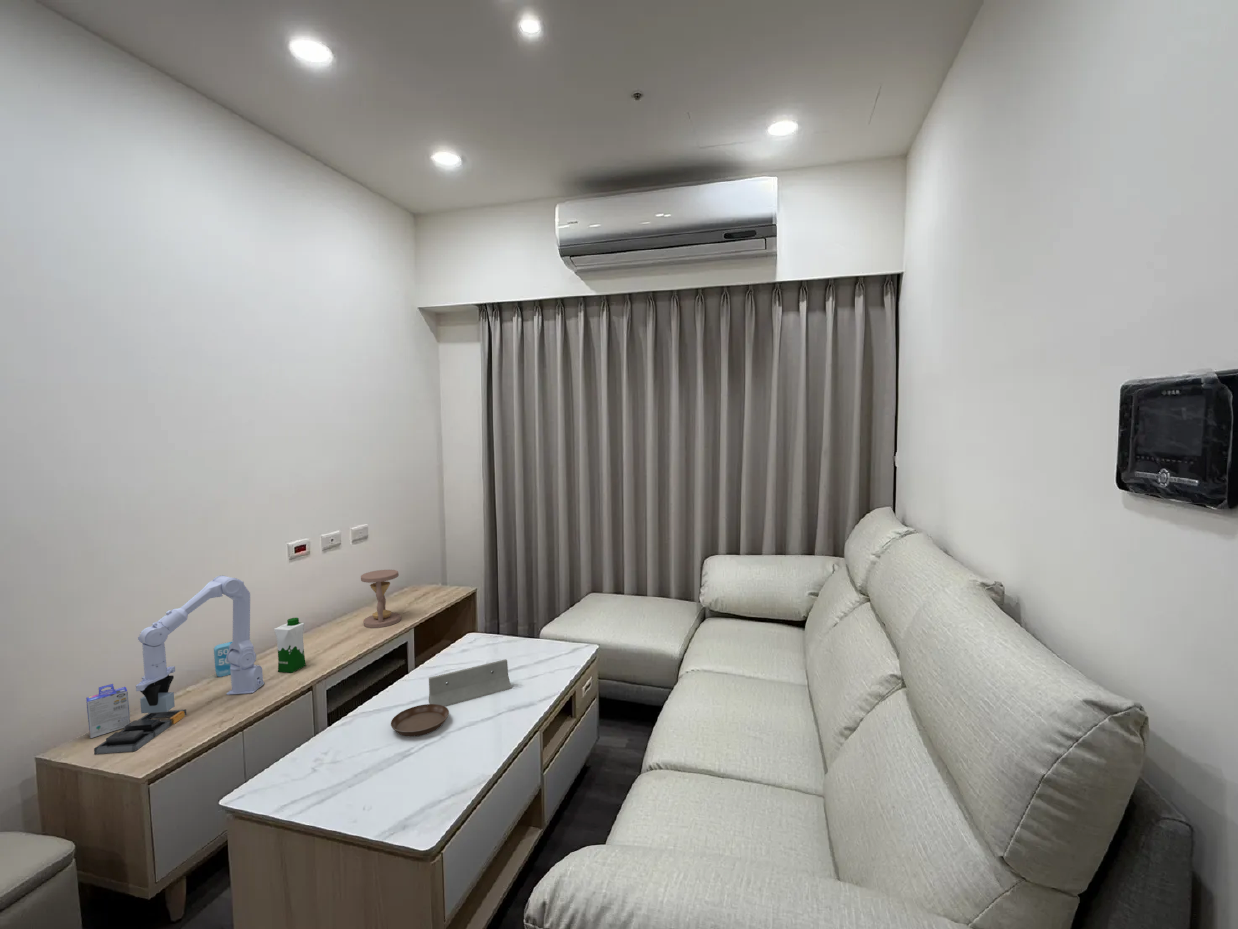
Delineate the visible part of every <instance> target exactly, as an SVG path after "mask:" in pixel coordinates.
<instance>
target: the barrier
mask: <svg viewBox="0 0 1238 929" xmlns="http://www.w3.org/2000/svg"><path fill="white" fill-rule="evenodd" d="M511 689H512V686H511V681H510V676H509V665H508V660H507V658H506V659H502V660H501V659H500V660H498V661H492V662H488V663H484V664H481V665H476V666H472V667H468V668H464V669H460V670H455V671H452V672H447V673H443V674H439V675H435V676H430V677H428V704H438V705H442V706H445V707H449V706H452V705H455V704H459V703H464V702H468V701H471V700H475V699H478V698H482V697H486V696H490V695H494V694H496V693H500V692H504V691H508V690H511Z"/></svg>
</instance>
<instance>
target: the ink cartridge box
mask: <svg viewBox="0 0 1238 929" xmlns="http://www.w3.org/2000/svg"><path fill="white" fill-rule="evenodd" d="M114 686H115V685H114V683H110V684H105V685H103V686H100V687H99V686H98V694H95V695H90V696H88V697H86V698H85V699H86V700H85V701H86V713H87V720H88V721H87V722H88V730H89V739H92V738H96V737H100V736H103V735H106V734H108V733H109V734H110V733H112V732H117V731H118V730H123V729H125V726H126V725H128V724H129V723H131V719H130V718H131V716H130V704H129V695H128V694H129V693H128V689H127V687H126V686H123V687H122V686H121V687H120V688H119V687H118V688H115V687H114ZM105 688H110V689H105ZM103 689H105V690H103Z"/></svg>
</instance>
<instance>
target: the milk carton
mask: <svg viewBox="0 0 1238 929" xmlns="http://www.w3.org/2000/svg"><path fill="white" fill-rule="evenodd" d="M304 628H305V622H300V621H299V617H292V618H291V617H290V618H288V619H287V623H285V624H284V623H283V624H281V625H280V626H278V627H274V628H273V631H274V635H275V638H276V644H277V646H276V647H277V659H278V661H277V664H278V665H277V673H289V674H293V673H295V672H297V671H298V670H300V669H302V668H304V667H307V664H306V657H305V649H304V648H305V646H304V645H305V644H304V643H305V642H304Z"/></svg>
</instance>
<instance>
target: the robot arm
mask: <svg viewBox="0 0 1238 929" xmlns="http://www.w3.org/2000/svg"><path fill="white" fill-rule="evenodd" d="M223 595H225V597H228V598H229V599H231V600H232V641H233V642H232V641H231V642H232V643H231V644H230V646H229V651H228V653H227V656H226V659H227V661H228V663H230V664H231V667H230V671H231V674H230V681H231V682H230V683H231V690H228V692H226V694H225V695H227V696H230V695H231V696H232V695H243V694H252V693H255V692H256V691H257V690H258V689H259V688H261V687H262V686H263V685H265V682H264V677H263V676H264V674H263V667H262V666H261V665H259V664H255V662H256V660H257V653H256V652H255V649H254V648H255V647H254V644H253V643H252V642H251V640H250V639H251V592H250V591H249V589H248V588H247V587H246V586H245V582H244V580H241V579H239V578H237V577H231V576H226V575H223V574H222V575H217V576H216V577H214V578H213V579H212V580H210V581H208V582H207V583H206V585H205V586H204V587H203V588H202V589H201V590H199V591H198V592H197V593H196V594H195V595H193V597H191V598H190V599H189V600H187V602H185V603H184V604H183V605H182V606H181V607H179V608H173V609H169V610H167V611H166V612H165V614H164V615H163V617H161V618H160V619H159V620H157V621H154V622H152V624H151V626H147V627H145V628H143V629H142V630H141V632H140V634H139V635H138V637H137V640H138V642H140V643H141V645H142V658H143V659H142V660H143V672H144V675H143V676H141V681H140V682H139V683H138V684H136V685H135V691H136V692H140V693H141V694H142V695H143V697H144V696H145V698H146V699H147V701H148V704H149V706H156V705H157V704H158V693H167V692H170V691H169V690H170V687H171V684H172V682H173V680H174V675H170V674H172V673H173V674H174V673H175V672H176V666H173V665H172V666H167V657H166V645H165V643H166V641H167V640H168V637H169V635H170V634H171V633H173V632H174V631H175V630H177V629H178V628H179V627H180V626H181V625H183V624H184V623H185V622H186V621H187V620H188V617H189V615H190V613H192V612H194V611H195V610H196V609H197V608H199V607H201V606H202V605H203V604H204V603H207V601H209V600H210V599H216V598H220V597H222V598H223Z"/></svg>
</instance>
